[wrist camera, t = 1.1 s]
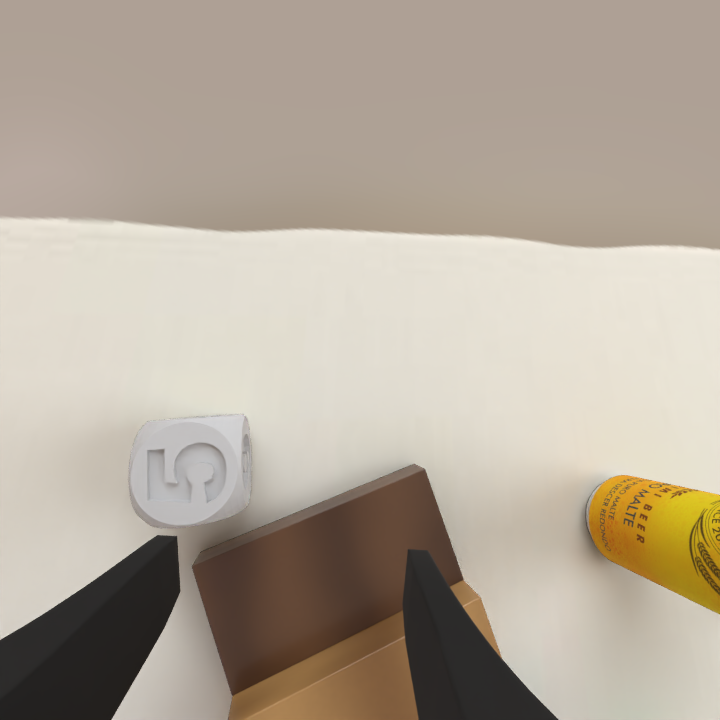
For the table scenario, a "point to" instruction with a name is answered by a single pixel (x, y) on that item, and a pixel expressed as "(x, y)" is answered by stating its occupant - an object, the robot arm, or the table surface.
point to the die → (191, 470)
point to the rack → (328, 604)
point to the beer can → (660, 534)
